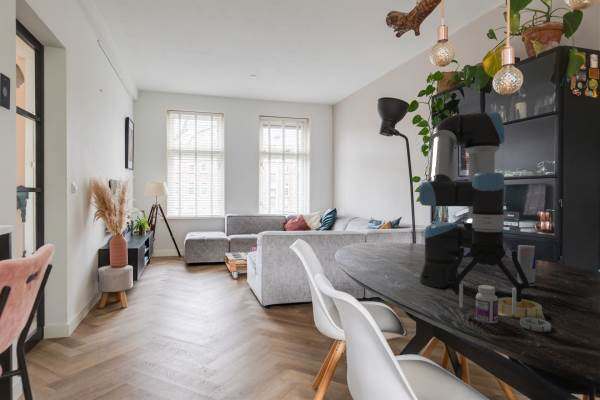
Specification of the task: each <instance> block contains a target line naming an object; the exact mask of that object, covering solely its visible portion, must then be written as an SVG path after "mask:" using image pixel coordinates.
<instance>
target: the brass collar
mask: <svg viewBox="0 0 600 400" xmlns="http://www.w3.org/2000/svg"><path fill="white" fill-rule="evenodd" d="M498 312H500V313H502V314H505V315H508V316H507V317H509V316H512V317H511V318H516V317H517V318H516V319H520V318H525V317H528V318H529V317H530V318H540V317H542V313H543V306H542V305H541V304H540V303H538V302H536V301H533V300H530V299H529V300H528V299H524V298H521V302H516V315H513V314H512V297H500V298H498Z"/></svg>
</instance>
